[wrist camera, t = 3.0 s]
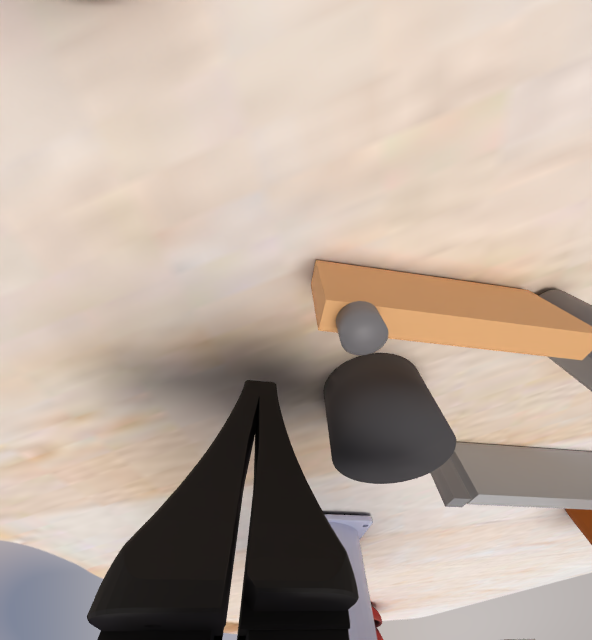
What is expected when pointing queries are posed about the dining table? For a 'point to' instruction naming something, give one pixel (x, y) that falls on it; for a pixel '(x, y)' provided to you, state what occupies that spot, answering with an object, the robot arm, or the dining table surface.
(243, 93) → the dining table surface
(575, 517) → the grey and orange block
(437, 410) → the dark grey cylinder
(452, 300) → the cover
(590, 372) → the grey frame
